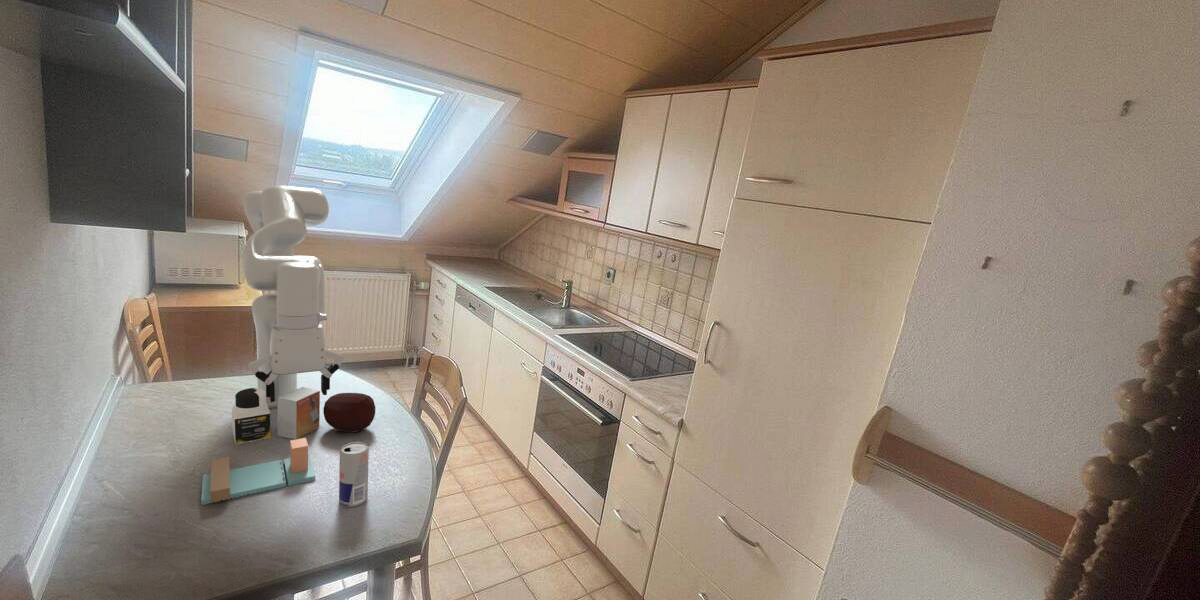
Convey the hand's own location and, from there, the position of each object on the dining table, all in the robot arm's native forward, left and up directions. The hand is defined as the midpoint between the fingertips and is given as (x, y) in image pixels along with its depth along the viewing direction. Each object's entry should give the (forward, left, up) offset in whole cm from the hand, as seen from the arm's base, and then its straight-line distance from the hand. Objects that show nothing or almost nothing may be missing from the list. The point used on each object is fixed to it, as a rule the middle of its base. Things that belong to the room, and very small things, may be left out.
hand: (298, 396), depth 105 cm
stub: (0, 0, -18) cm, 18 cm away
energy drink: (+16, +8, -19) cm, 26 cm away
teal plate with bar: (0, -10, -18) cm, 21 cm away
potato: (-16, +13, -19) cm, 28 cm away
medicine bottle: (-22, -8, -19) cm, 30 cm away
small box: (-20, +2, -19) cm, 27 cm away
